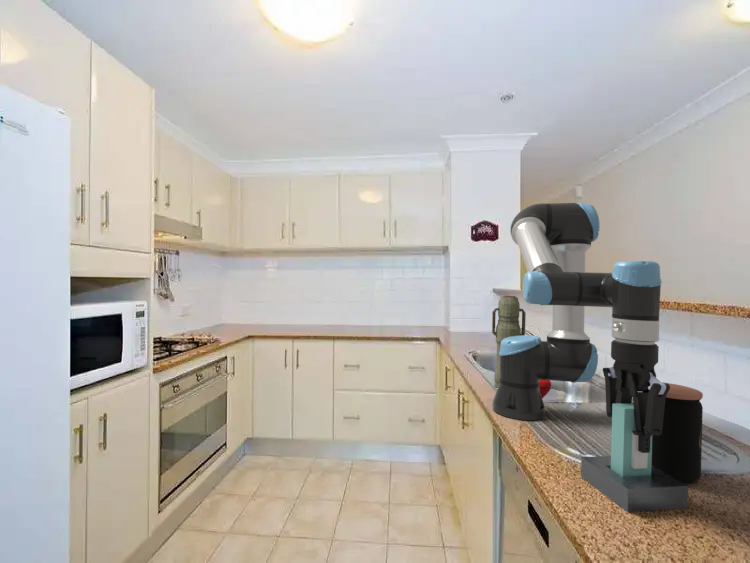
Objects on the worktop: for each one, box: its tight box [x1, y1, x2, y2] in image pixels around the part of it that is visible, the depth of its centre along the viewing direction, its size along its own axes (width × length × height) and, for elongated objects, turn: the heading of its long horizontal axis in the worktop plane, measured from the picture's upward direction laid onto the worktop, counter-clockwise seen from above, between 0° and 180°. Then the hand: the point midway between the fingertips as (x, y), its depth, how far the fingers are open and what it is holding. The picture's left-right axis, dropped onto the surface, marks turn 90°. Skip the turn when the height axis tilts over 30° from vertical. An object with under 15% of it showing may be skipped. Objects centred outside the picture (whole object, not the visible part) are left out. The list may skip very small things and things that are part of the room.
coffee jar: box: [652, 382, 704, 485], centre depth 80 cm, size 11×11×18 cm
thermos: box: [491, 295, 527, 389], centre depth 142 cm, size 9×12×35 cm
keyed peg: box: [610, 402, 652, 477], centre depth 72 cm, size 6×3×14 cm, turn 98°
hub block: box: [580, 455, 689, 513], centre depth 72 cm, size 12×12×4 cm
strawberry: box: [539, 380, 552, 400], centre depth 130 cm, size 6×8×10 cm
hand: (631, 462), depth 72 cm, fingers closed on keyed peg, 3 cm apart
